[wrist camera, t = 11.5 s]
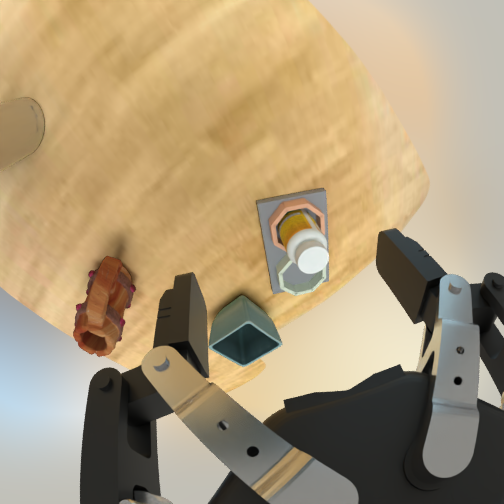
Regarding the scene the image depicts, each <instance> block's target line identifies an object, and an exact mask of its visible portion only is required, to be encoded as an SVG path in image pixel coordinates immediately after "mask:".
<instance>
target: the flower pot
mask: <svg viewBox="0 0 504 504" xmlns="http://www.w3.org/2000/svg"><path fill="white" fill-rule="evenodd" d="M281 345H282V341H281V339H280V336H279V334H278V332H277V329H276V327H275V325H274V323H273V321H272V320H271V318H270V317H269V316H268V315H267V314H266V313H265V312H264V311H263V310H262V309H261V308H259V307H258V306H257V305H255V304H254V303H253V302H252V301H250V300H249V299H248V298H246V297H245V296H243V295H241V296H239V297H238V298H237V299H235V300H234V301H233V302H231V303H230V304H228V305H227V306H226V307H224V308H223V309H222V310H221V311H220V312H219V313H218V315H217V316H216V317H215V319H214V321H213V323H212V327H211V333H210V339H209V346H208V347H209V349H211V350H213V351H214V352H216V353H218V354H220V355H222V356H223V357H225V358H227V359H229V360H231V361H232V362H234V363H236V364H238V365H240V366H242V367H245V366H247V365H249V364H251V363H253V362H254V361H256V360H258V359H259V358H261V357H263V356H264V355H266V354H268V353H270V352H272V351H273V350H275V349H277V348H278V347H280V346H281Z"/></svg>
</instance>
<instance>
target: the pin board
mask: <svg viewBox="0 0 504 504" xmlns="http://www.w3.org/2000/svg"><path fill="white" fill-rule="evenodd" d="M256 202H257V207H258V213H259V218H260V224H261V230H262V235H263V241H264V247H265V252H266V258H267V264H268V269H269V275H270V281H271V287H272V291H273V294H276V293H281V292H285V291H286V292H288V293H290V294H292V295H295V296H296V295H301V294H305V293H309V292H313V291H314V290H315V289H316V288H317V287H318V286H319V285H320V284H321V283H323V282H327V281H329V261H328V263H327V265H326V266H325V267H324V268H323V269H322V270H321V271H319V272H317V273H313V274H307V273H304V272H302V271H301V270H300V269H299V267H298V265H297V264H295V263H293V262H292V261H291V260H290V258H289V257H288V255H287V252H286V250H285V247H284V245H283V242H282V240H281V237H280V234H279V232H278V228H277V224H278V223H279V221H280V220H281V219H282V218H283V216H284V215H285V214H286V213H287V211H292V210H297V209H304V210H306V211H308V212H309V213H310V215H311V216H312V217H313V219H314V220H315V222H316V224H317V225H318V227H319V228H320V230H321V231H322V233H323V234H324V236H325V238H326V241H327V251H328V220H327V199H326V190H325V189H324V188H320V189H314V190H309V191H303V192H298V193H293V194H288V195H282V196H277V197H272V198H267V199H262V200H258V201H256Z"/></svg>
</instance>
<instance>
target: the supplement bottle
mask: <svg viewBox="0 0 504 504" xmlns="http://www.w3.org/2000/svg"><path fill="white" fill-rule="evenodd" d="M277 228H278V232H279V234H280V237H281V240H282V242H283V245H284V247H285V250H286V252H287V255H288V257H289V258H290V260H291V261H292V262H293V263H295V264H297V265H298V267H299V269H300V270H301V271H302V272H304V273H307V274H313V273H317V272H319V271H321V270H322V269H323V268H324V267H325V266H326V265H327V263H328V261H329V254H328V251H327V241H326V238H325V236H324V234H323V233H322V231H321V230H320V228H319V227H318V225H317V224H316V222H315V220H314V219H313V217H312V216H311V215H310V213H309V212H308V211H306V210H304V209H297V210H292V211H287V213H286V214H285V215H284V216H283V218H282V219H281V220H280V221H279V223H278V224H277Z"/></svg>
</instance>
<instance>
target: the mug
mask: <svg viewBox="0 0 504 504" xmlns="http://www.w3.org/2000/svg"><path fill="white" fill-rule="evenodd" d="M88 275H89V277H90V280H89V282H88V289H87V291H86V293H87V295H88V296H87V298H86V301H85V302H84V303H82V304H77V305H76V310H77V313H76V316H75V330H74V332H73V336H74V338H75V340H76V341H77V342H78V345H79V347H80V348H81V349H83V350H84V351H86V352H88V353H89V354H94V353H96V354H97V356H98V357H100V356H106V355H109V354H110V353H111V352H112V350H113V349H114V348H115V346H116V342H118V341H121V339H122V337H121V335H122V331H123V326H124V324H125V320H124V319H123V315H124V310H125V308H130V306H131V301H132V297H133V292H134V291H135V290H136V287H135V286H134V285H132V281H131V276H130V274H129V273H128V272H127V270H126V269H125V268H124V267H123V266H122V263H121V260H118V259H115V258H112V257H109V256H106V257H105V258H104V260H103V261H102V263H101V265H100V267H99V269H97V270H95V271H94V270H93V271H90V272H89V274H88Z"/></svg>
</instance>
